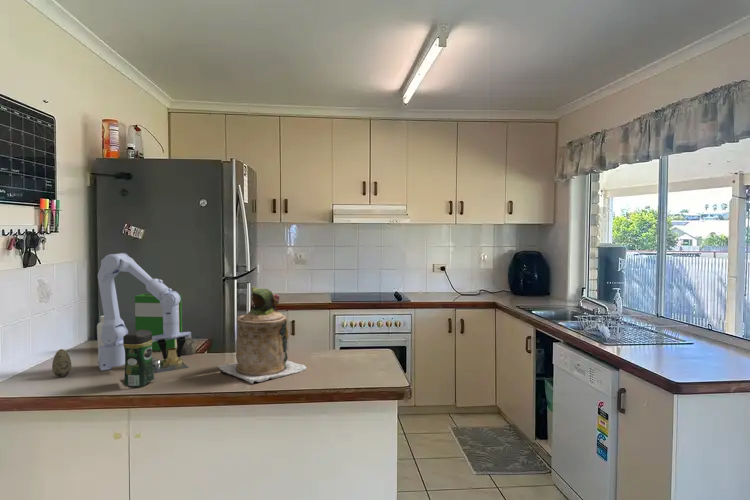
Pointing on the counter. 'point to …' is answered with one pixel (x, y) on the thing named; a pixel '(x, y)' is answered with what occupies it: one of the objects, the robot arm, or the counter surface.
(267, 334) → the cookie jar
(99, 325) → the pill bottle
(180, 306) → the hardback book
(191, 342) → the fossil
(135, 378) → the coffee jar
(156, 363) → the carrier
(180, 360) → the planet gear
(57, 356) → the decorative egg
